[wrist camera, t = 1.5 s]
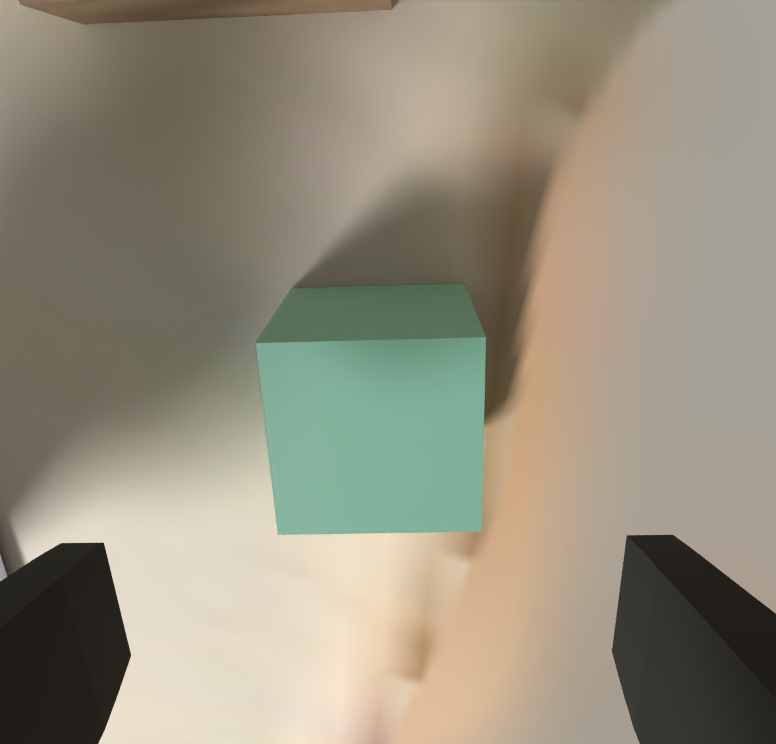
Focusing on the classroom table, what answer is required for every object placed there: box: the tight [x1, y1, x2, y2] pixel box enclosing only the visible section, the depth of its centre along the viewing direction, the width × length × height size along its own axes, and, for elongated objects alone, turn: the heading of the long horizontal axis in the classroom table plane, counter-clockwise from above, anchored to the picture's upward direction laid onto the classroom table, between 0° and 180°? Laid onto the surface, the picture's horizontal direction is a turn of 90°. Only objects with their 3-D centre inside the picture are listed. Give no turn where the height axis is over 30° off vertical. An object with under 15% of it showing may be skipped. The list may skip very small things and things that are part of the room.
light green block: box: [255, 283, 486, 535], centre depth 15 cm, size 4×4×4 cm
